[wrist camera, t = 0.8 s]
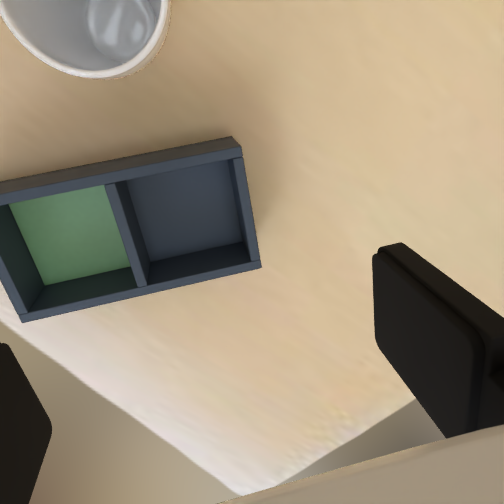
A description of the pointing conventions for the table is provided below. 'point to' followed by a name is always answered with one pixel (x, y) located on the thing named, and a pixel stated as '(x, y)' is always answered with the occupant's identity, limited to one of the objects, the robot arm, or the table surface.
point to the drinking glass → (90, 33)
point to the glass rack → (125, 228)
